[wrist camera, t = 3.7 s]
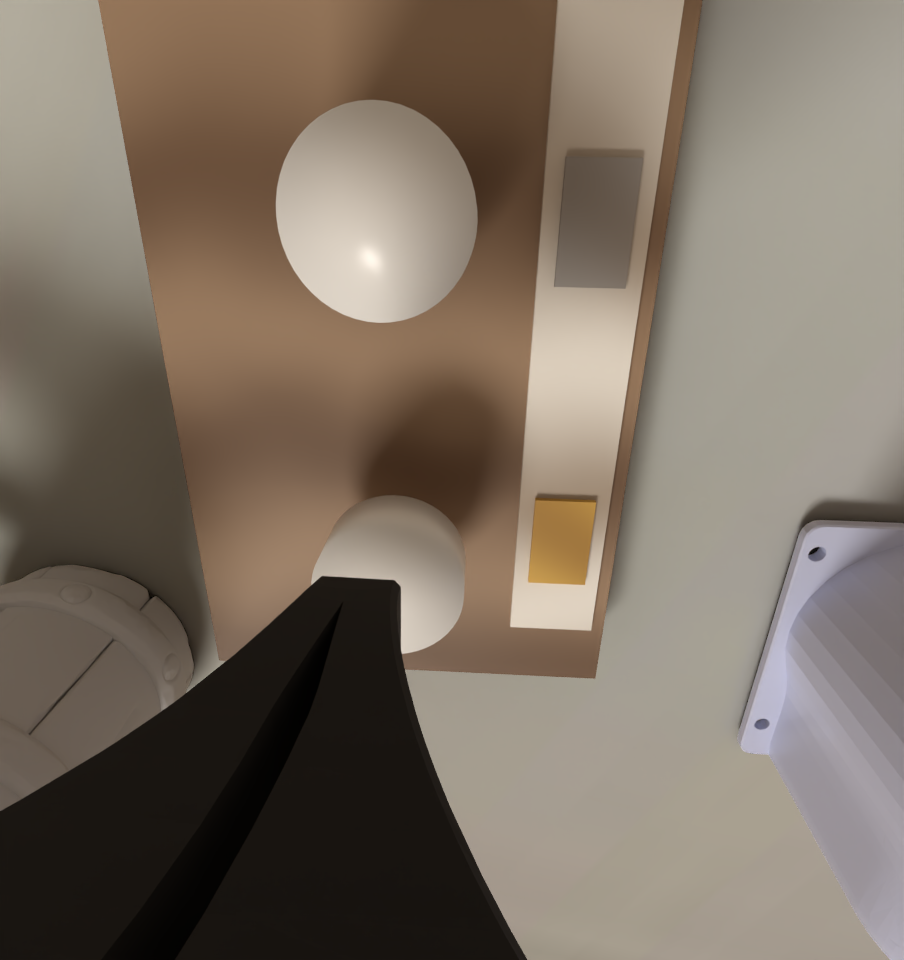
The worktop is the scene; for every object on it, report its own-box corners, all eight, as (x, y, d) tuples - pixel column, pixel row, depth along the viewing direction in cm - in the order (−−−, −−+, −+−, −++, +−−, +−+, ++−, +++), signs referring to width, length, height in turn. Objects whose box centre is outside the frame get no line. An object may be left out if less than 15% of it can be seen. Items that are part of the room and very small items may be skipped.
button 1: (463, 617, 16) (461, 657, 14) (332, 611, 16) (317, 650, 14) (467, 497, 14) (466, 529, 13) (323, 492, 14) (304, 522, 13)
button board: (584, 636, 20) (597, 686, 18) (242, 621, 20) (214, 668, 18) (768, -648, 9) (855, -913, 7) (47, -630, 10) (-78, -874, 8)
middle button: (474, 314, 12) (473, 325, 11) (308, 309, 12) (286, 320, 11) (481, 118, 11) (481, 101, 9) (293, 115, 11) (264, 97, 10)
